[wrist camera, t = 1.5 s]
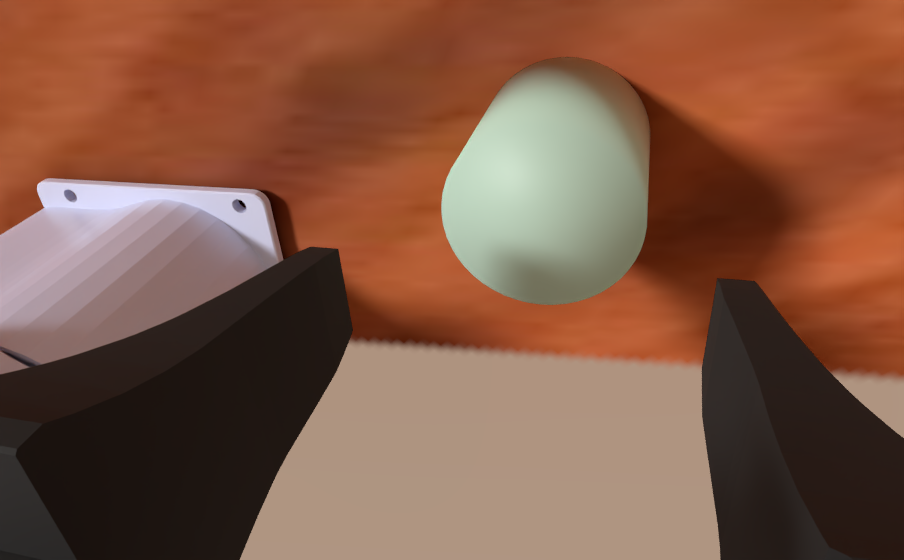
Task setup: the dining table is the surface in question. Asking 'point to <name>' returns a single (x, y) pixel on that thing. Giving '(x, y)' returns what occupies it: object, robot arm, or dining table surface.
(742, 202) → the dining table surface
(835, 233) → the dining table surface
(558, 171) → the pale green rounded cylinder
